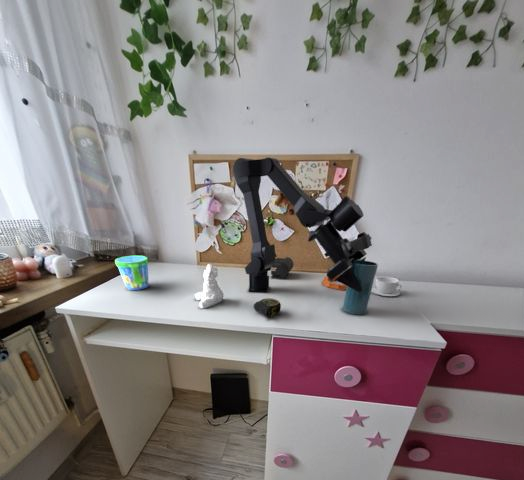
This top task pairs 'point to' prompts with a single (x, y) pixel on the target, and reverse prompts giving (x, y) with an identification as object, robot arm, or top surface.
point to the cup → (365, 276)
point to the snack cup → (133, 271)
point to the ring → (333, 284)
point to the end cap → (282, 267)
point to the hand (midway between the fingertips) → (364, 287)
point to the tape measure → (268, 307)
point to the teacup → (386, 286)
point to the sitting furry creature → (210, 289)
